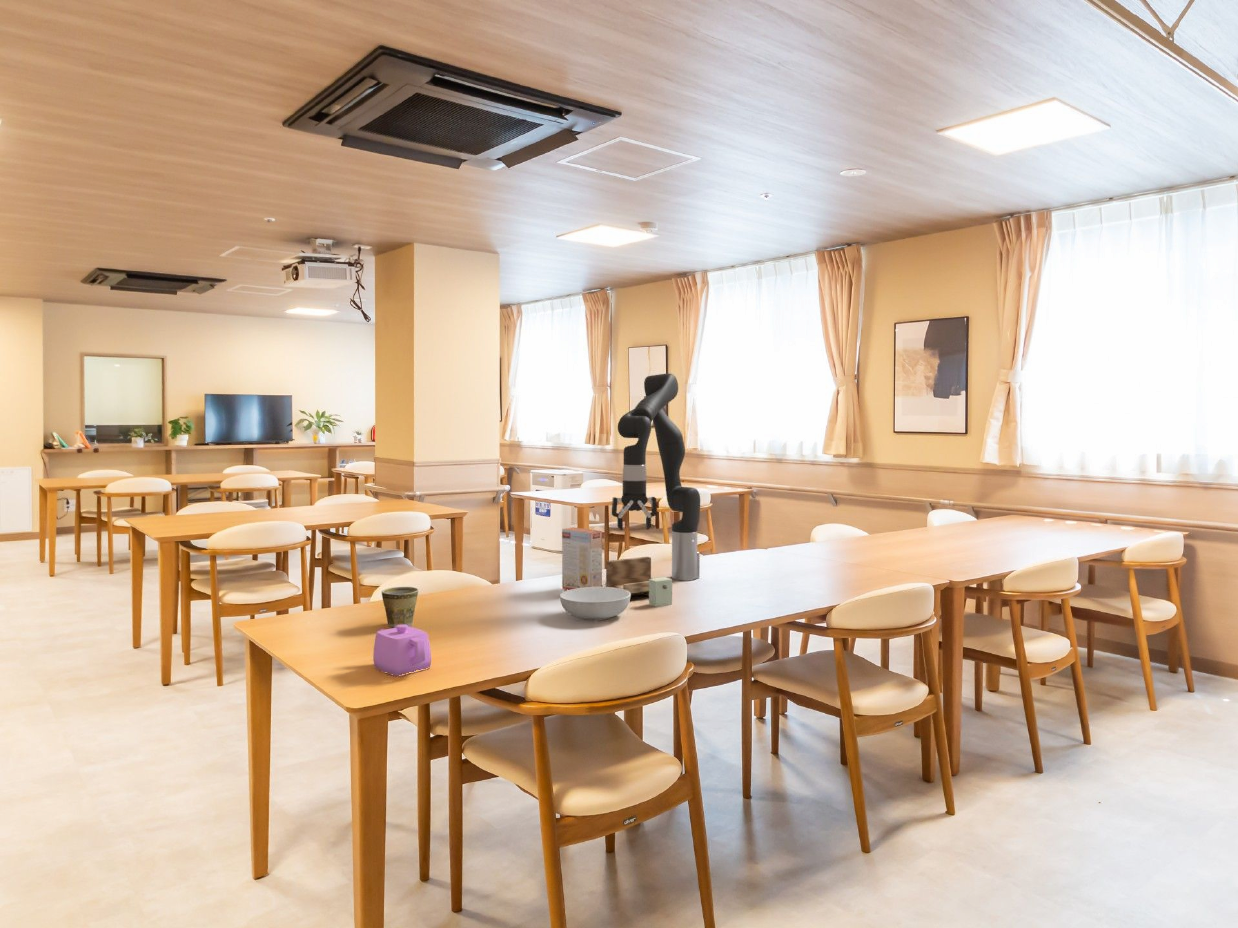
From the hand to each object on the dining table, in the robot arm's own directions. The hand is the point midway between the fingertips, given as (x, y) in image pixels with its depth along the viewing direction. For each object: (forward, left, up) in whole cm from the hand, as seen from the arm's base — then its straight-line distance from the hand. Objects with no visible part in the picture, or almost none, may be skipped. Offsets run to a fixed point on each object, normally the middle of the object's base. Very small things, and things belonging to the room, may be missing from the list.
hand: (634, 529), depth 262 cm
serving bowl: (+20, +12, -23) cm, 33 cm away
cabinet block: (-5, +9, -23) cm, 25 cm away
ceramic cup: (+72, -8, -23) cm, 77 cm away
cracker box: (+7, -21, -23) cm, 32 cm away
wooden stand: (-3, -4, -23) cm, 23 cm away
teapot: (+83, +32, -23) cm, 92 cm away
